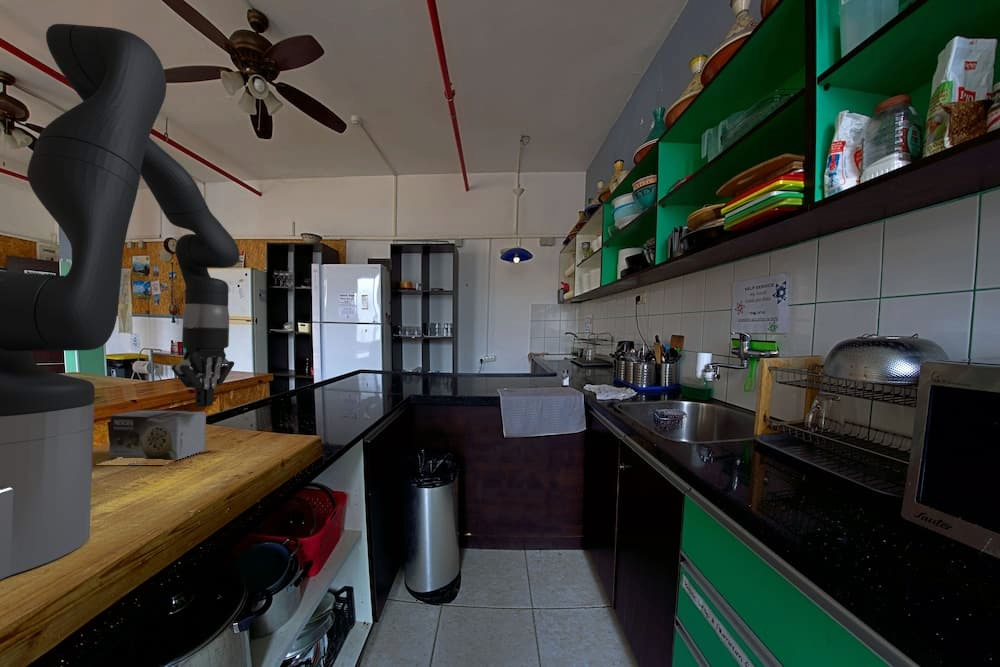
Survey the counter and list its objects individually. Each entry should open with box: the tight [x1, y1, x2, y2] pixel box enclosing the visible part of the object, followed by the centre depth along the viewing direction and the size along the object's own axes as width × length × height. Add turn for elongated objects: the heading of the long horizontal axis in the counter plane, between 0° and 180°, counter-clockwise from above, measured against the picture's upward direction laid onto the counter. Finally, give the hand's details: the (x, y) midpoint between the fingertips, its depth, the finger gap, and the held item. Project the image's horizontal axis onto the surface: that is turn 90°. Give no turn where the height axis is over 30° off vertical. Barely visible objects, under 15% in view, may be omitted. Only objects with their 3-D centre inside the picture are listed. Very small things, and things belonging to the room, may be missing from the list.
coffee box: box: [108, 409, 207, 461], centre depth 72 cm, size 9×6×16 cm
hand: (204, 406), depth 71 cm, fingers closed
